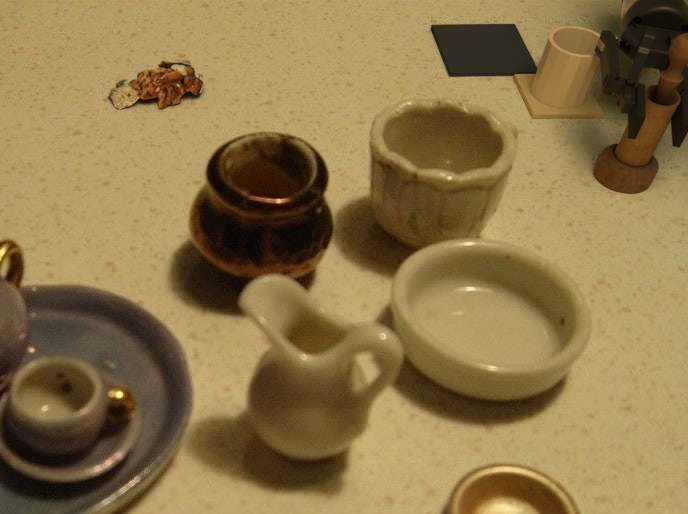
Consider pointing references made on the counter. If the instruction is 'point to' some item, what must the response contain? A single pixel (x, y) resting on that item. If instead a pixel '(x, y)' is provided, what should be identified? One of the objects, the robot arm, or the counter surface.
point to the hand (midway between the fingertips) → (659, 132)
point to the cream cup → (566, 68)
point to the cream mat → (544, 111)
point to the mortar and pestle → (645, 130)
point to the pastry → (158, 85)
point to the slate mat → (483, 50)
